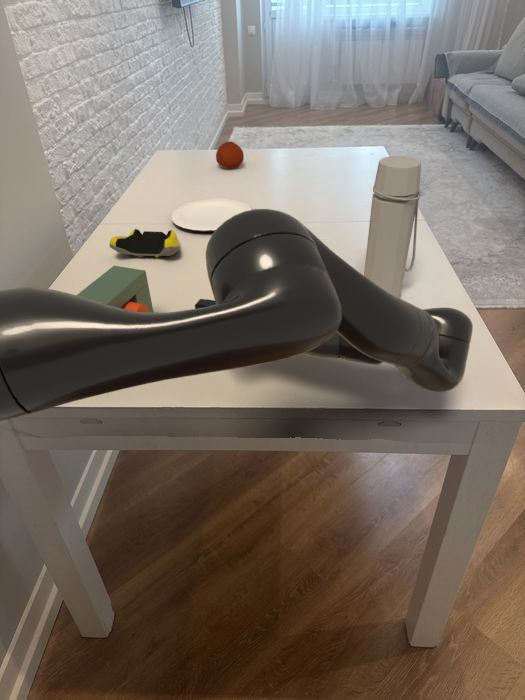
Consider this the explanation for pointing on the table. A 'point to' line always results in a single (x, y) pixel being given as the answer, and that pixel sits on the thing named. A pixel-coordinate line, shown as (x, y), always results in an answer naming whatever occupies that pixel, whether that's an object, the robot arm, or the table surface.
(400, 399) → the table surface
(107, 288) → the block
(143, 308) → the push knob
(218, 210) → the plate
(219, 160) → the fruit
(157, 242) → the toy running shoe
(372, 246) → the water bottle
